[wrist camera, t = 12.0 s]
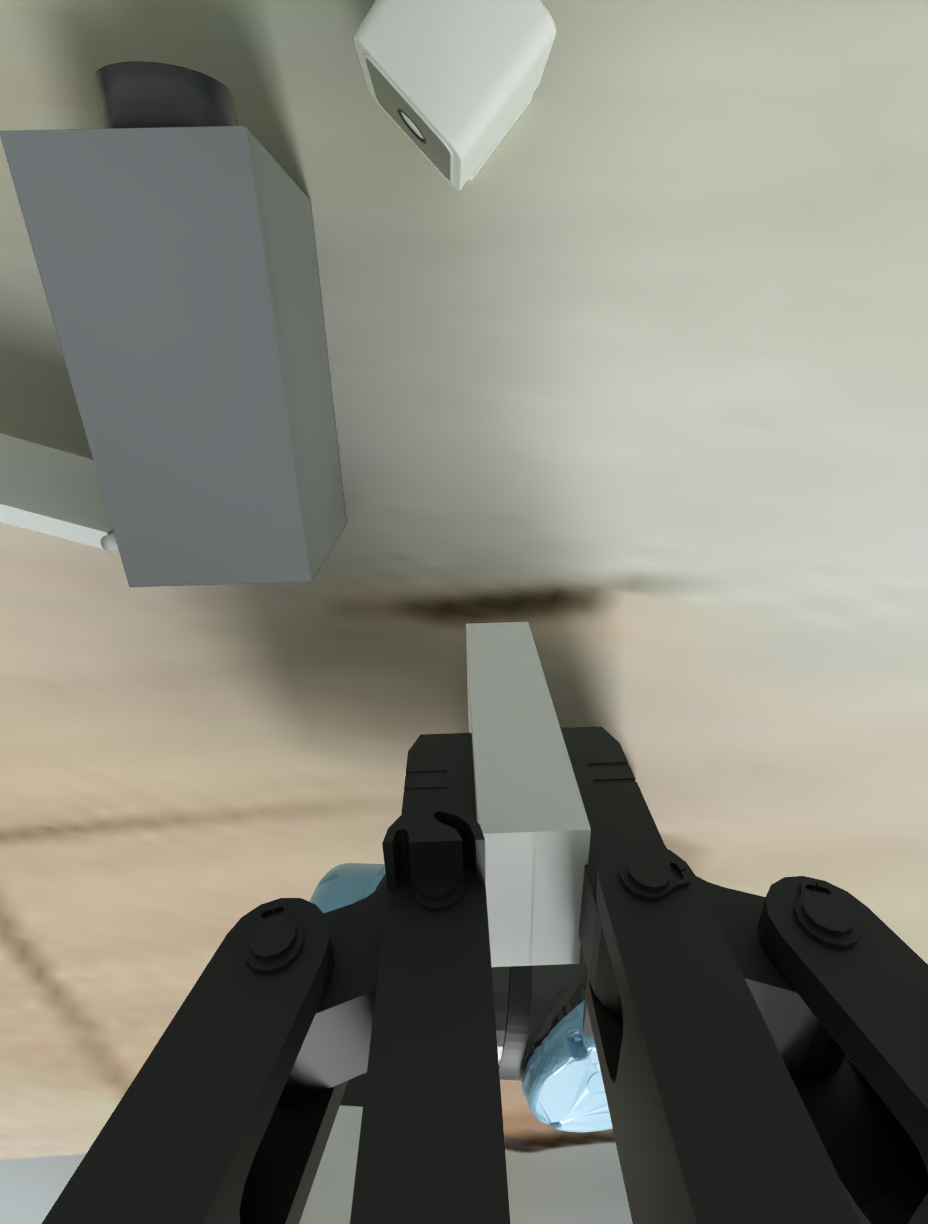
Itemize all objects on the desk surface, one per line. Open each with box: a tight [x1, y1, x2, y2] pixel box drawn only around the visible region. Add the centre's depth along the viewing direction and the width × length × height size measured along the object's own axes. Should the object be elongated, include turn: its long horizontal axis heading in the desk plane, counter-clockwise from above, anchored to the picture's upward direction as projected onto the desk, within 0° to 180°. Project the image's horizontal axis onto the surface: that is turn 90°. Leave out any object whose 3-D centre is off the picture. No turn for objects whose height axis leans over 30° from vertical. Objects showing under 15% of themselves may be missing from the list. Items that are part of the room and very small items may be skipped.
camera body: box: [0, 62, 347, 587], centre depth 32 cm, size 23×10×12 cm, turn 1°
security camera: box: [353, 0, 556, 191], centre depth 28 cm, size 6×7×10 cm
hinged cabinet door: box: [0, 433, 119, 553], centre depth 32 cm, size 15×1×16 cm, turn 73°
